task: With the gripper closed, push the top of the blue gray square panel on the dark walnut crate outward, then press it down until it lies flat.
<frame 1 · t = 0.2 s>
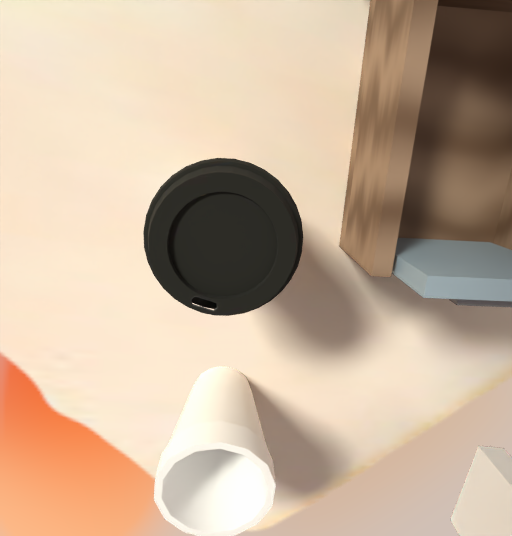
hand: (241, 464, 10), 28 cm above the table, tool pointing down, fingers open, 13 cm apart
coffee cup: (229, 209, 36), on the table
foam cup: (222, 390, 42), on the table
blue gray square panel: (461, 269, 31), point 8 cm above the table, hinge at 0.0°
crate: (439, 134, 35), on the table
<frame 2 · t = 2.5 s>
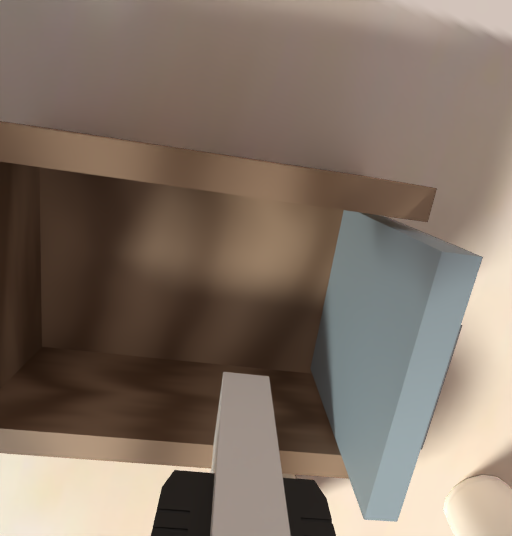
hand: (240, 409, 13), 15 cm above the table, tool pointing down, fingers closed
foam cup: (475, 500, 35), on the table
blue gray square panel: (372, 333, 21), point 8 cm above the table, hinge at 0.0°
crate: (190, 268, 27), on the table
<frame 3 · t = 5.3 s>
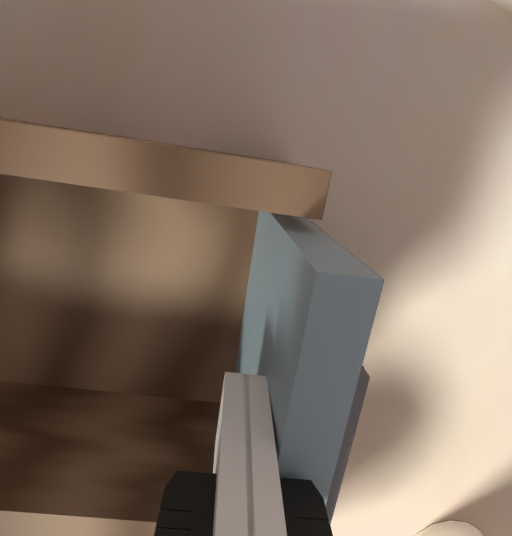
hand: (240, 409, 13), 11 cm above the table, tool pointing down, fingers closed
blue gray square panel: (280, 368, 16), point 8 cm above the table, hinge at 2.9°, touching gripper
crate: (81, 276, 22), on the table
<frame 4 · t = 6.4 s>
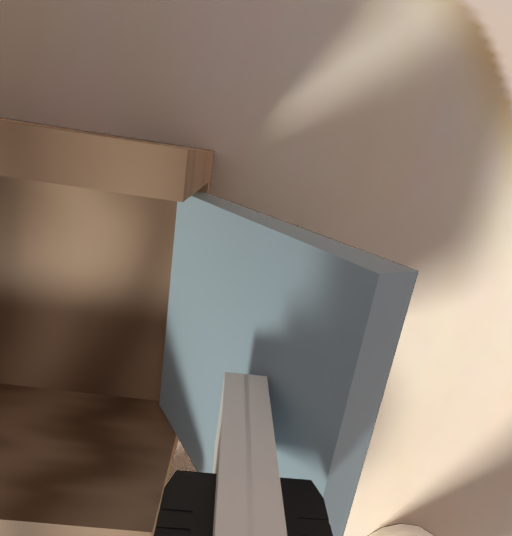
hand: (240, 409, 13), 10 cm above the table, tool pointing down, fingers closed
blue gray square panel: (247, 361, 16), point 7 cm above the table, hinge at 31.6°, touching gripper
crate: (3, 267, 21), on the table
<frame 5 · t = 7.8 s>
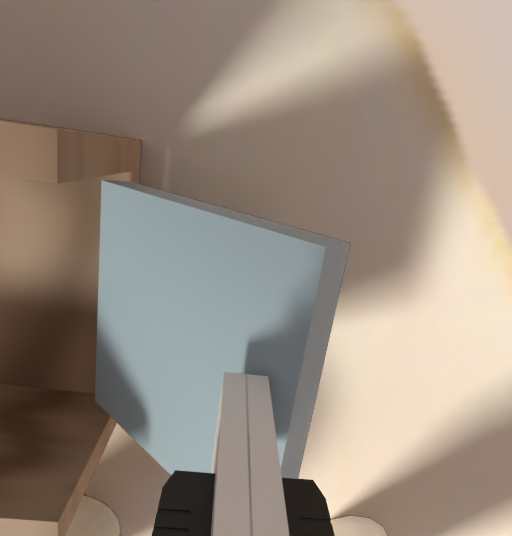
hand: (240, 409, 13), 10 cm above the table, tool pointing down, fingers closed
coffee cup: (77, 525, 27), on the table
blue gray square panel: (193, 341, 17), point 6 cm above the table, hinge at 47.5°, touching gripper
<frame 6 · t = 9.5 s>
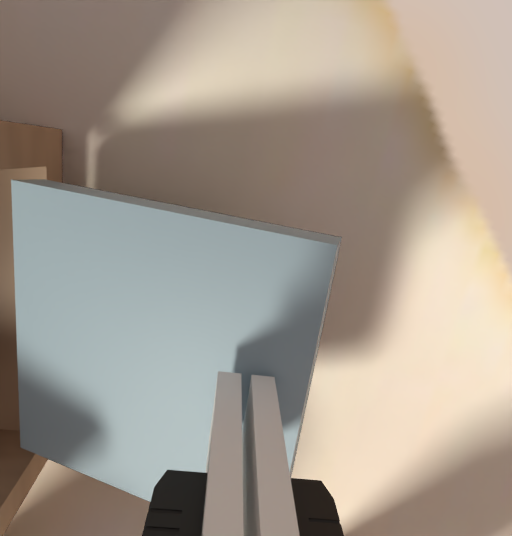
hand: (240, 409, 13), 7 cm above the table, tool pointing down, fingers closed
blue gray square panel: (159, 355, 15), point 4 cm above the table, hinge at 68.8°, touching gripper
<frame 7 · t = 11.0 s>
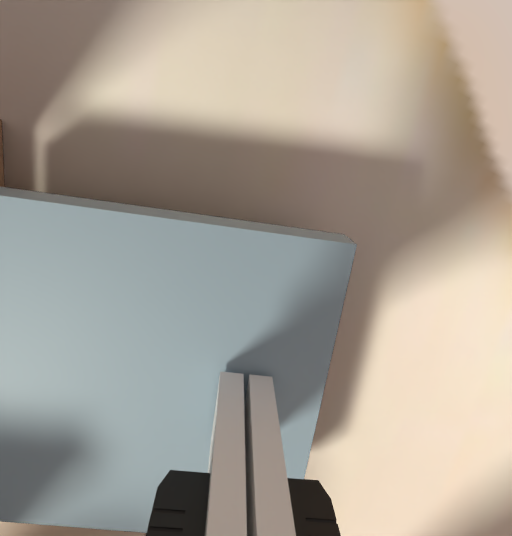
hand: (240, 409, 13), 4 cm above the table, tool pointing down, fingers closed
blue gray square panel: (150, 375, 14), point 2 cm above the table, hinge at 88.8°, touching gripper
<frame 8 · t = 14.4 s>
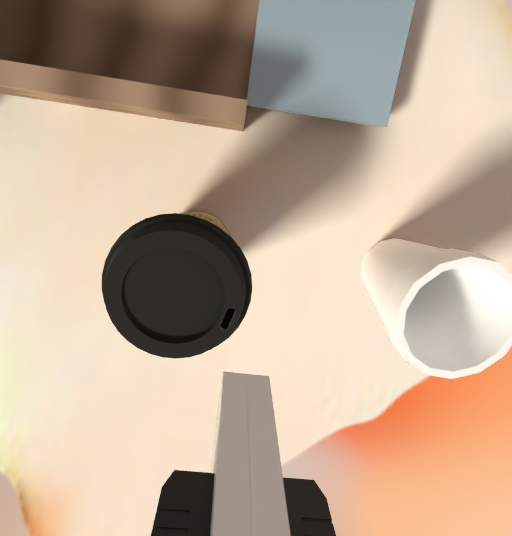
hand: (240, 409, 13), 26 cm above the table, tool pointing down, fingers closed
coffee cup: (198, 242, 38), on the table
foam cup: (390, 267, 40), on the table
blue gray square panel: (328, 38, 31), point 2 cm above the table, hinge at 88.9°
crate: (125, 10, 32), on the table
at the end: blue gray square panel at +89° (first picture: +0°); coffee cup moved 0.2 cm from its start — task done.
